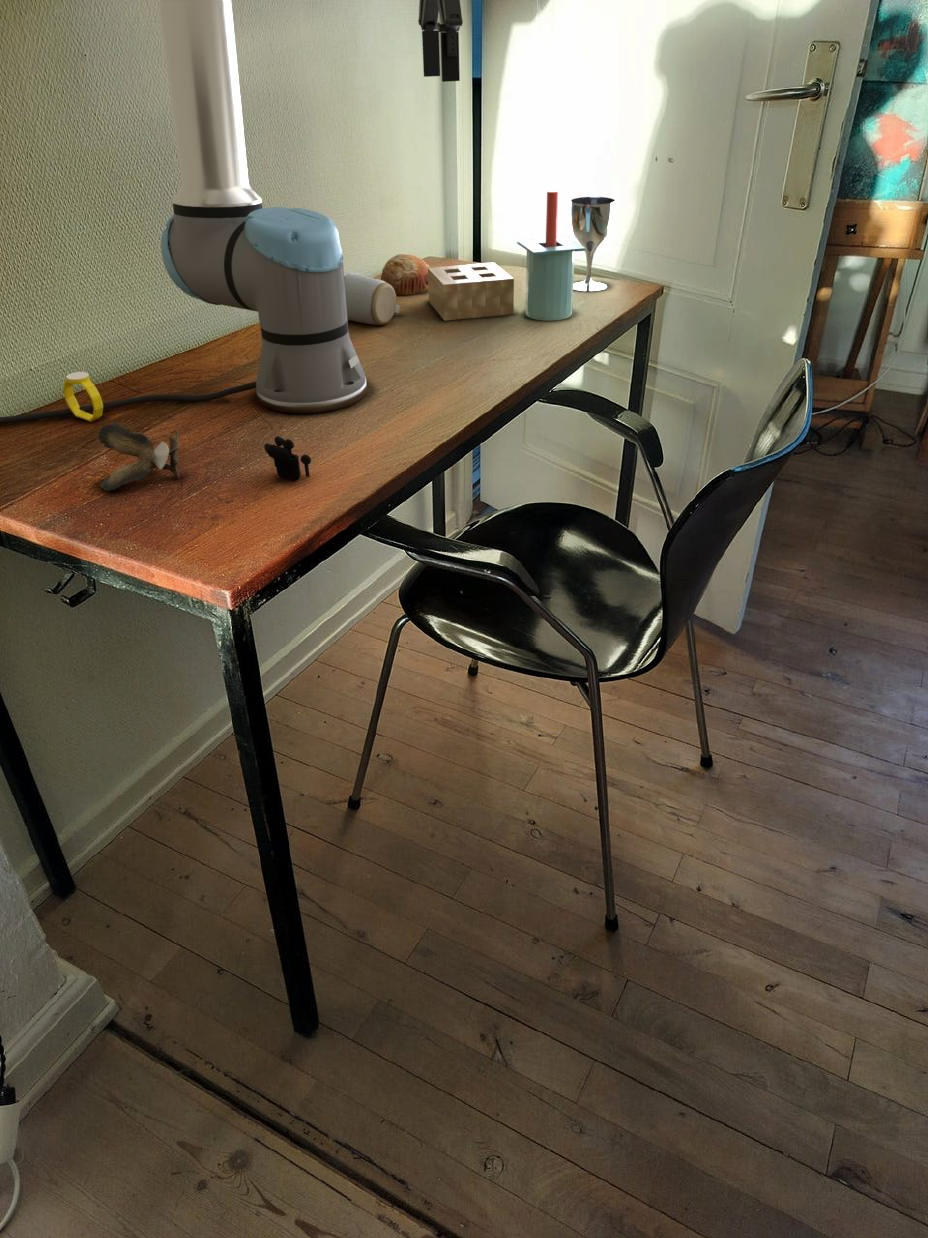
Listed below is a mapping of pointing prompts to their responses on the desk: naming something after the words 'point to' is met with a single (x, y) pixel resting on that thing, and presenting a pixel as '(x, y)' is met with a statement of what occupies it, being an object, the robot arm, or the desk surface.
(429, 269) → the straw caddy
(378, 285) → the ceramic mug
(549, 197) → the straw
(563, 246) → the lid
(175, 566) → the desk surface
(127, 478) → the eagle figurine
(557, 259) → the light blue pen holder
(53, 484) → the desk surface
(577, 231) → the wine glass
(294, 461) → the wireless earbuds
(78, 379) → the watch
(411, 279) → the muffin
